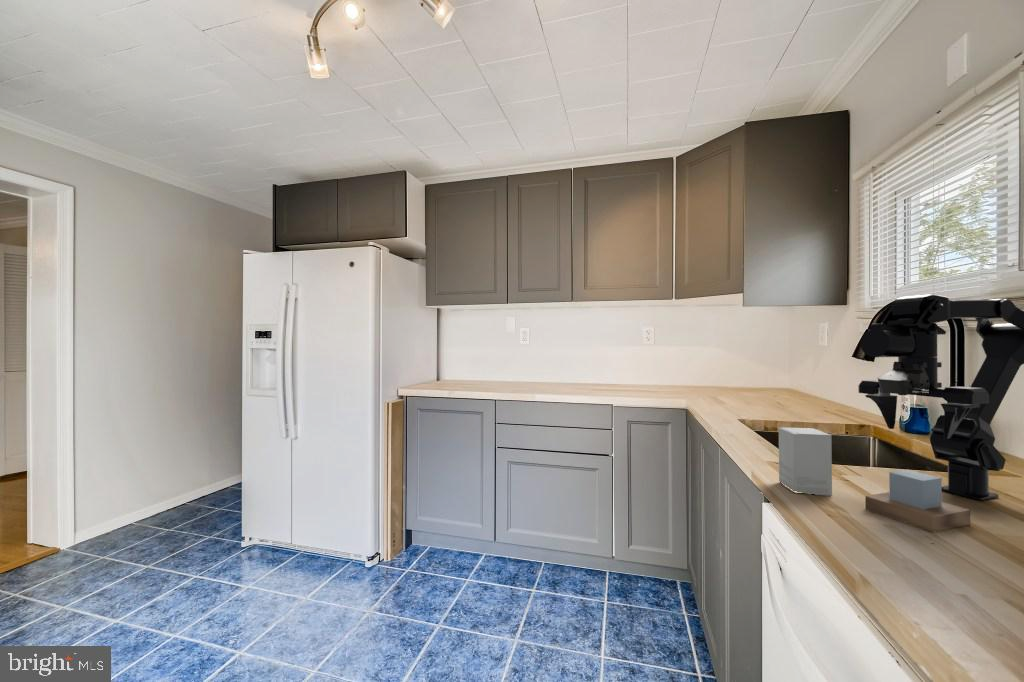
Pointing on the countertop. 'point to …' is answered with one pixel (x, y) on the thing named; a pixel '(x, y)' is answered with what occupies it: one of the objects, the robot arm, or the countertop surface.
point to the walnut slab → (919, 513)
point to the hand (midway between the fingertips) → (917, 433)
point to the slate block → (915, 489)
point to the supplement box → (805, 460)
